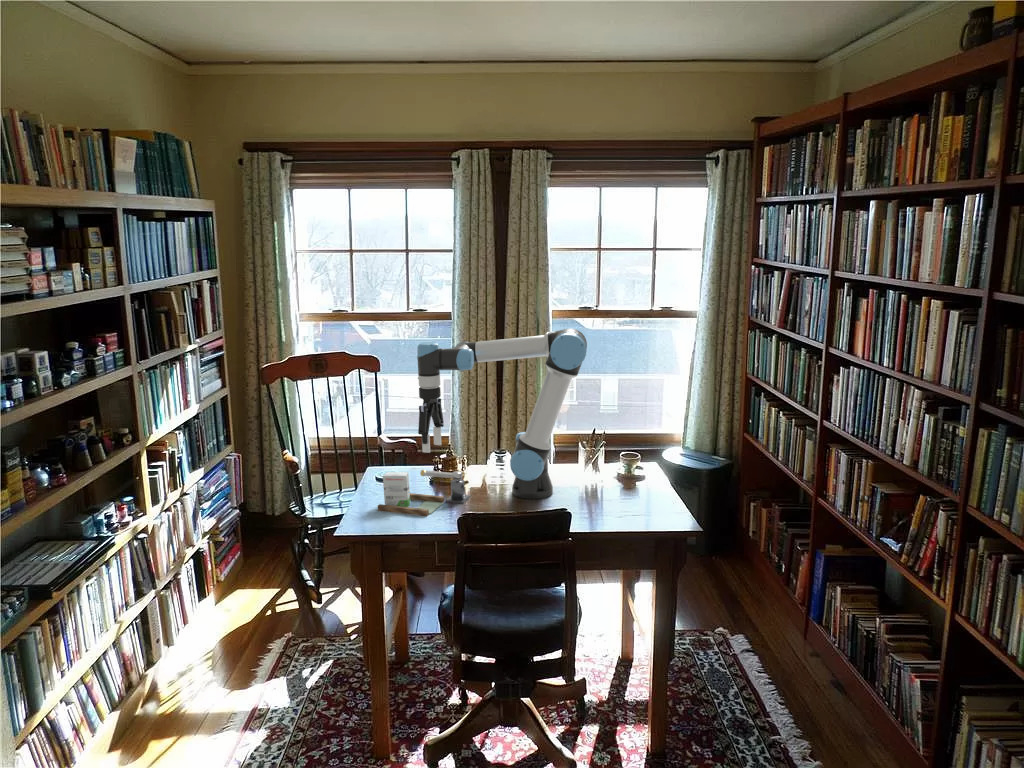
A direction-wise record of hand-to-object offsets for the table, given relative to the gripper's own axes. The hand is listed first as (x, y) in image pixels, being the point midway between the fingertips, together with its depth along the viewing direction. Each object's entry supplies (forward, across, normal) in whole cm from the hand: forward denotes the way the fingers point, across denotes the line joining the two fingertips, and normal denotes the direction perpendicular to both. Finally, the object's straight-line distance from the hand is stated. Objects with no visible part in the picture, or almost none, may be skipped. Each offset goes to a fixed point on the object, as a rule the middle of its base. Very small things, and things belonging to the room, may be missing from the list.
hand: (432, 448), depth 274 cm
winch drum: (+20, -6, +7) cm, 22 cm away
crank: (+13, -5, +1) cm, 14 cm away
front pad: (+20, +6, 0) cm, 21 cm away
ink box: (+21, +6, -12) cm, 25 cm away
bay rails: (+20, +6, -6) cm, 22 cm away
